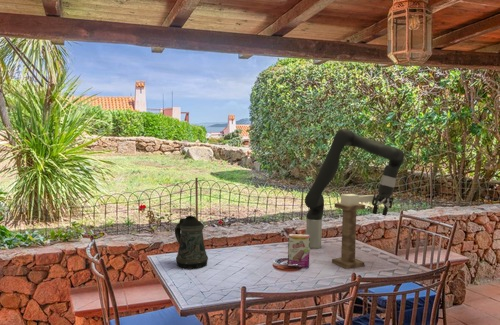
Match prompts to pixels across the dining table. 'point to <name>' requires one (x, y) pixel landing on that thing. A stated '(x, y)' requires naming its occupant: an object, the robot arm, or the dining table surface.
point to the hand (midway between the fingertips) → (379, 214)
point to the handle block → (355, 199)
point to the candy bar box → (299, 249)
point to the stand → (348, 237)
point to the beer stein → (190, 244)
